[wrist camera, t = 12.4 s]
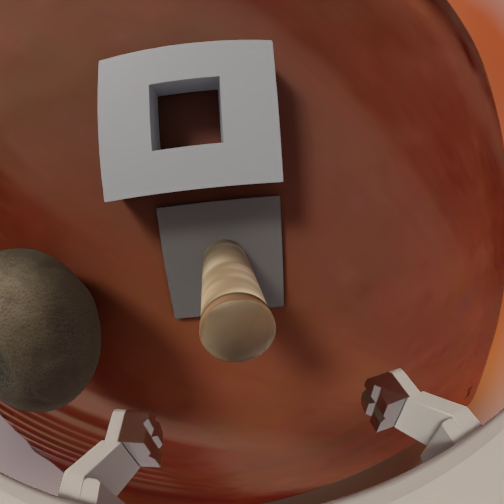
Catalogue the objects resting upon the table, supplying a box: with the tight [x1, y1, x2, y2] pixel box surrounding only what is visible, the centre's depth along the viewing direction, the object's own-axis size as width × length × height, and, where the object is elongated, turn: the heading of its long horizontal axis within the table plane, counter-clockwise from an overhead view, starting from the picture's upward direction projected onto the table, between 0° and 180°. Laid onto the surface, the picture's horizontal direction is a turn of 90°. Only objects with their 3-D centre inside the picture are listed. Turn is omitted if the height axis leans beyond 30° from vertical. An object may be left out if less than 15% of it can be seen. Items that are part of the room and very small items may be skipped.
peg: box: [199, 239, 276, 362], centre depth 20 cm, size 4×4×12 cm
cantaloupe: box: [0, 248, 101, 412], centre depth 18 cm, size 14×14×15 cm
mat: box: [156, 195, 284, 319], centre depth 26 cm, size 11×11×1 cm
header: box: [98, 40, 283, 202], centre depth 20 cm, size 14×12×4 cm
